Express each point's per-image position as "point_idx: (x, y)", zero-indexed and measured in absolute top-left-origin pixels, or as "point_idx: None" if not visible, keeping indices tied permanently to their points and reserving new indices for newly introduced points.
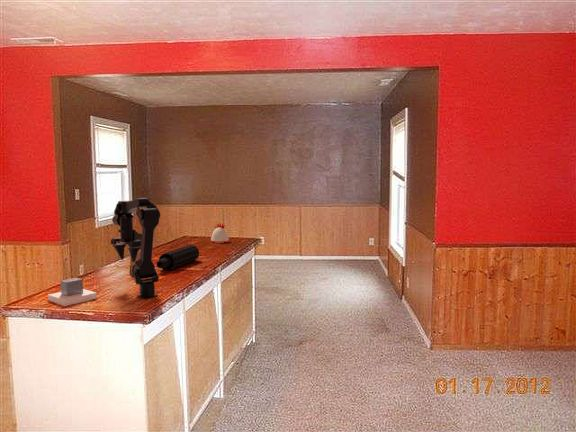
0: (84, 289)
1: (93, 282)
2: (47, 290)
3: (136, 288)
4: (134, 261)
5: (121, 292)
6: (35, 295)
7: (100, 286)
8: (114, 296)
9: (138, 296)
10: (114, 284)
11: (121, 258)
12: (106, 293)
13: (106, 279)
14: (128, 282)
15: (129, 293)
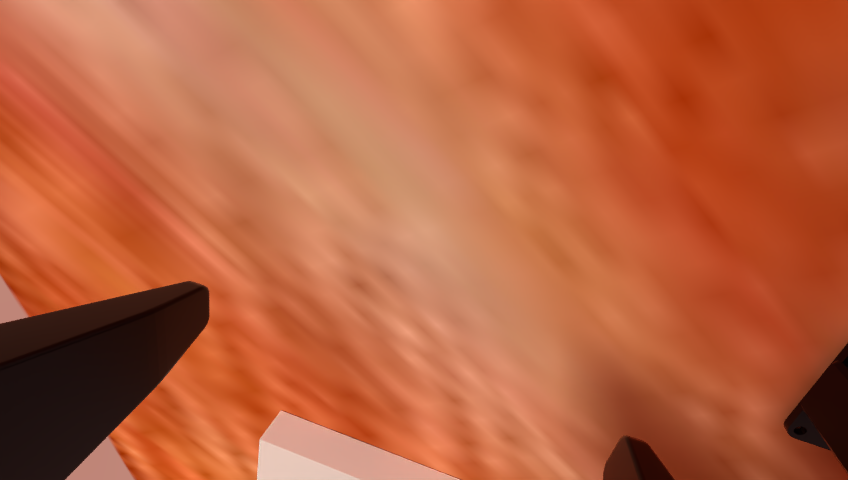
0: (324, 467)
1: (75, 148)
2: None
3: (579, 187)
4: (638, 447)
5: (535, 338)
6: (137, 470)
7: (229, 233)
8: (564, 436)
9: (812, 441)
10: (264, 137)
11: (193, 339)
12: (441, 383)
13: (45, 7)
14: (312, 6)
15: (630, 349)
